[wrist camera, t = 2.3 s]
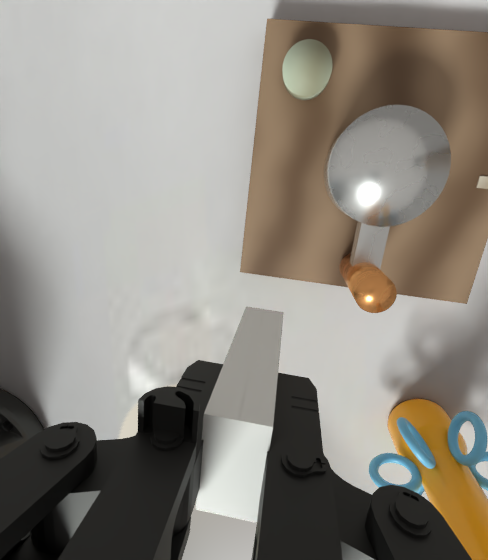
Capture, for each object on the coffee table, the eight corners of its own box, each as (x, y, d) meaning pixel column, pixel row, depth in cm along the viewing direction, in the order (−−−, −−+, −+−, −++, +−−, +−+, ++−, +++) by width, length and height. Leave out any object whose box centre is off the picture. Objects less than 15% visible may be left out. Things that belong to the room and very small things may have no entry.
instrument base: (243, 266, 33) (237, 276, 30) (268, 30, 27) (265, 8, 24) (460, 296, 31) (481, 311, 28) (538, 47, 25) (576, 26, 22)
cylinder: (498, 437, 34) (645, 618, 20) (409, 483, 37) (482, 668, 23) (426, 352, 33) (529, 481, 19) (339, 406, 36) (371, 554, 22)
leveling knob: (333, 111, 26) (349, 83, 19) (440, 121, 25) (500, 95, 18) (306, 274, 30) (310, 303, 23) (398, 287, 29) (434, 321, 22)
